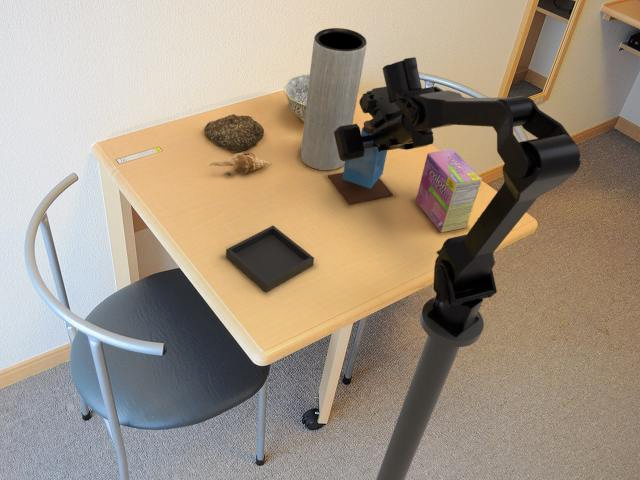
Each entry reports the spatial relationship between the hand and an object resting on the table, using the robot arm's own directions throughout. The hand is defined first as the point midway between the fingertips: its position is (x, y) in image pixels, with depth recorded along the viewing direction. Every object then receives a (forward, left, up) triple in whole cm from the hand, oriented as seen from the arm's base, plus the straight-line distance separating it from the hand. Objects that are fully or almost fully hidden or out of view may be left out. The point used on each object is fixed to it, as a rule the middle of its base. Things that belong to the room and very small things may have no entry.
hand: (364, 146), depth 131 cm
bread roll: (+29, +9, -9) cm, 32 cm away
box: (-17, -6, -9) cm, 20 cm away
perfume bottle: (-1, 0, -6) cm, 7 cm away
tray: (-7, +30, -9) cm, 32 cm away
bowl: (+24, -11, -9) cm, 28 cm away
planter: (+11, -1, -9) cm, 14 cm away
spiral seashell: (+18, +17, -9) cm, 26 cm away
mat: (-1, 0, -9) cm, 9 cm away
